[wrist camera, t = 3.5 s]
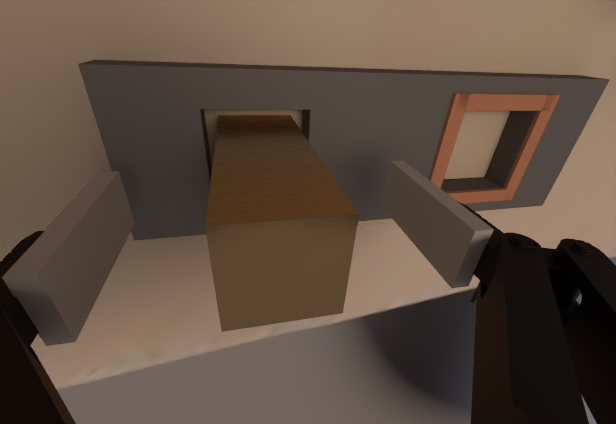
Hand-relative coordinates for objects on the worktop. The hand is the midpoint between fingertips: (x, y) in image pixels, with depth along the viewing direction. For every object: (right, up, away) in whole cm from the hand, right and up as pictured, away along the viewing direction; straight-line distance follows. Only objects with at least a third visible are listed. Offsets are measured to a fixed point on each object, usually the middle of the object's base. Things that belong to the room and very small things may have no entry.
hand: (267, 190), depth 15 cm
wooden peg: (-1, +3, +5) cm, 6 cm away
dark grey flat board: (+6, +4, +6) cm, 10 cm away
